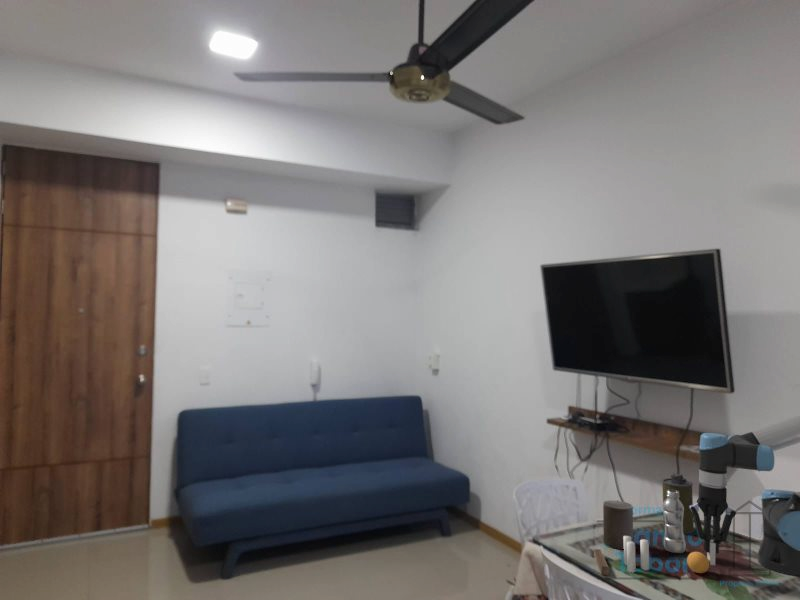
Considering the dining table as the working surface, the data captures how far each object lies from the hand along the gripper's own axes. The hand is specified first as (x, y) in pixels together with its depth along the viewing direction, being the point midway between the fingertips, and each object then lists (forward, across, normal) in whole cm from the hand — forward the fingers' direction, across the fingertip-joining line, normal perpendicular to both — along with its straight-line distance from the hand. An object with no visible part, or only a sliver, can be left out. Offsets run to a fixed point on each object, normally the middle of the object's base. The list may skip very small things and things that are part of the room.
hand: (711, 563), depth 172 cm
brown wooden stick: (+5, +32, +1) cm, 32 cm away
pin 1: (+4, +23, -2) cm, 24 cm away
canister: (+3, -2, -40) cm, 40 cm away
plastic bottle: (+4, +6, -16) cm, 17 cm away
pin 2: (+4, +23, +3) cm, 24 cm away
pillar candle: (+4, +23, -19) cm, 30 cm away
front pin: (+4, +19, 0) cm, 19 cm away
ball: (0, +4, 0) cm, 4 cm away
